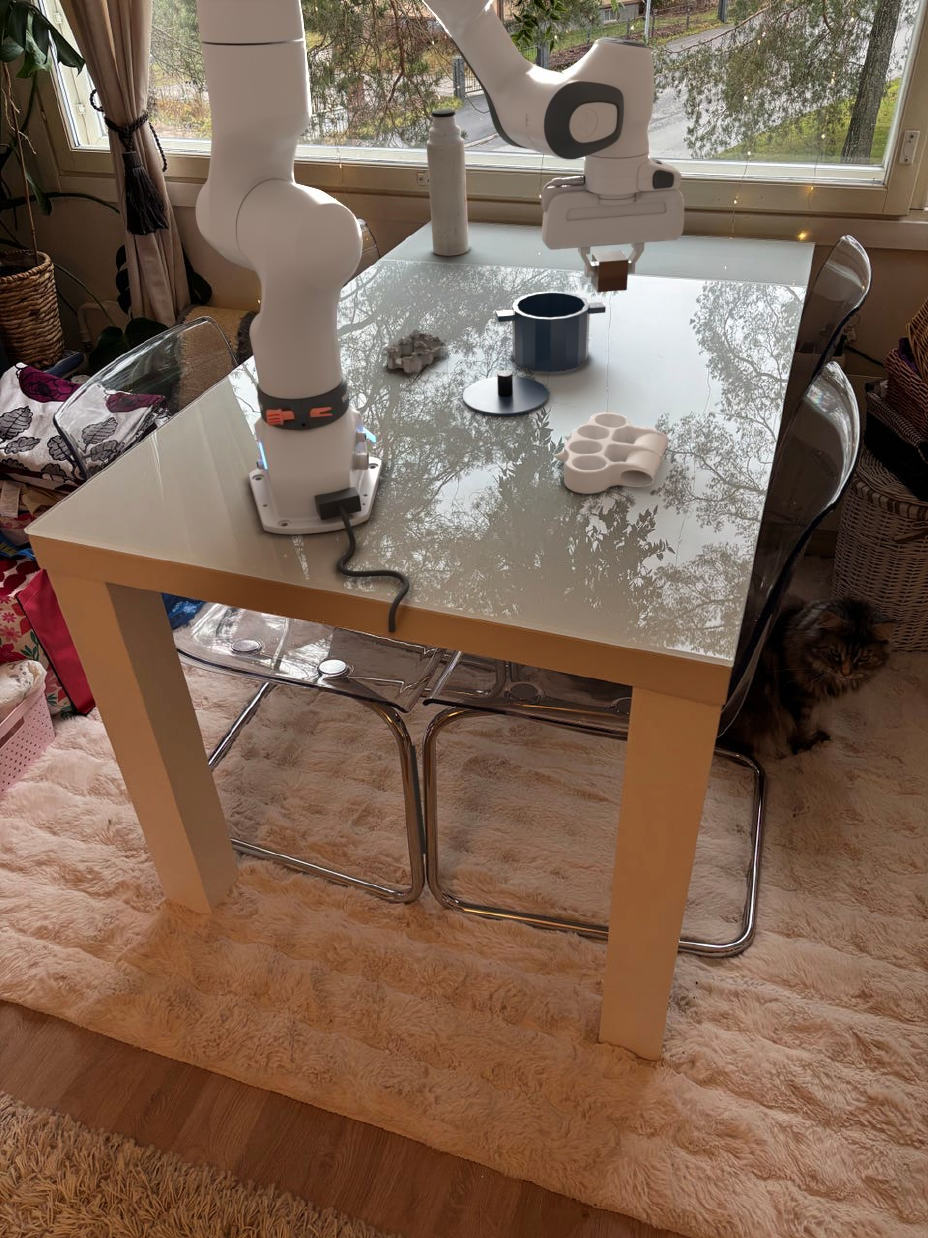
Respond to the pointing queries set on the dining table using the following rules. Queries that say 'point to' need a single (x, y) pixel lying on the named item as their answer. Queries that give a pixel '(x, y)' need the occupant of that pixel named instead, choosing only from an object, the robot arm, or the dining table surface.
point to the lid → (505, 395)
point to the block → (610, 271)
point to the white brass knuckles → (611, 454)
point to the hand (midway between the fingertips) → (609, 274)
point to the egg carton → (422, 347)
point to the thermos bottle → (447, 184)
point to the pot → (550, 330)
